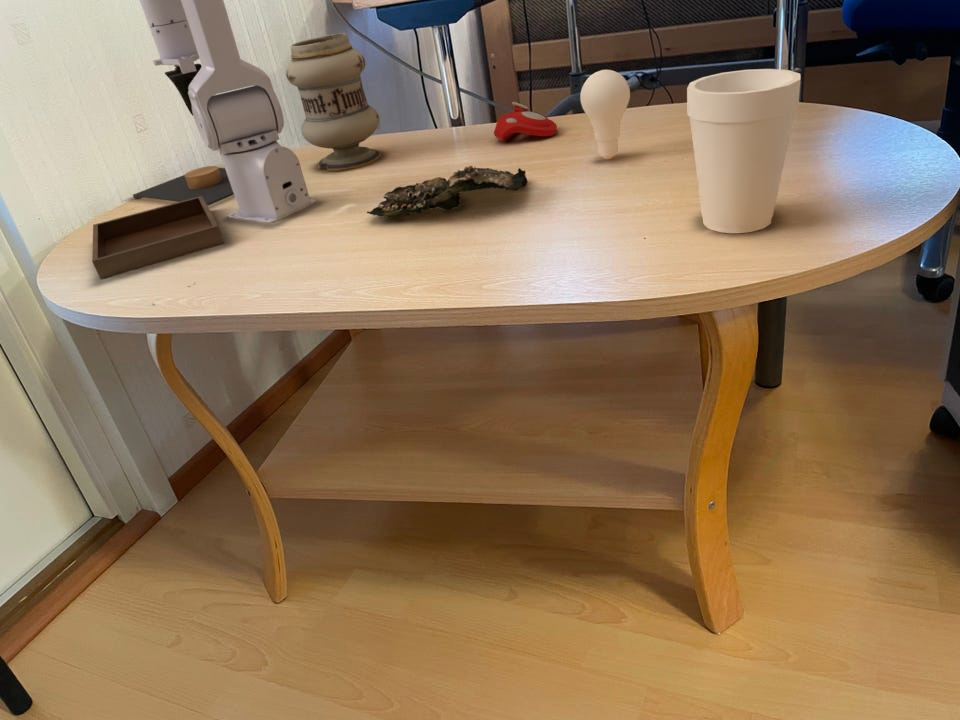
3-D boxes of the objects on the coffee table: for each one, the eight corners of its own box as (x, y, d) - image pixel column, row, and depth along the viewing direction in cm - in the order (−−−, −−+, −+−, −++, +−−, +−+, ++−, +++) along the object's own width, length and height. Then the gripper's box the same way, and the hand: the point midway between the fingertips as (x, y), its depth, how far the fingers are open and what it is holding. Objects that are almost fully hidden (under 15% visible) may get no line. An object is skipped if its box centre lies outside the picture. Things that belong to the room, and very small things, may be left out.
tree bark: (350, 201, 79) (379, 153, 91) (367, 249, 82) (393, 197, 94) (515, 171, 75) (523, 126, 87) (525, 223, 78) (532, 173, 90)
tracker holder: (572, 123, 106) (518, 123, 100) (564, 151, 108) (512, 153, 103) (526, 96, 113) (475, 95, 108) (520, 124, 116) (470, 124, 111)
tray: (225, 246, 85) (218, 225, 83) (101, 282, 80) (92, 261, 79) (208, 213, 98) (201, 195, 96) (101, 243, 93) (92, 224, 92)
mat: (282, 175, 109) (281, 172, 109) (209, 207, 100) (207, 203, 100) (206, 170, 120) (205, 166, 120) (134, 198, 111) (132, 194, 111)
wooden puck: (229, 179, 110) (224, 166, 109) (201, 190, 107) (197, 177, 106) (209, 177, 113) (205, 165, 112) (182, 188, 110) (177, 175, 108)
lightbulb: (639, 152, 92) (636, 63, 86) (621, 167, 88) (617, 75, 82) (596, 151, 95) (591, 65, 90) (577, 165, 91) (570, 77, 85)
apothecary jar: (296, 170, 111) (261, 48, 102) (353, 148, 118) (326, 32, 109) (344, 176, 103) (311, 45, 94) (402, 152, 111) (377, 28, 101)
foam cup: (757, 246, 63) (766, 96, 56) (668, 230, 69) (666, 92, 62) (806, 211, 68) (820, 69, 61) (719, 198, 74) (723, 68, 67)
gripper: (138, 27, 108) (171, 117, 115) (143, 30, 96) (180, 130, 103) (185, 18, 110) (214, 107, 117) (195, 20, 98) (227, 119, 105)
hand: (201, 117), depth 110 cm, fingers open, 7 cm apart
